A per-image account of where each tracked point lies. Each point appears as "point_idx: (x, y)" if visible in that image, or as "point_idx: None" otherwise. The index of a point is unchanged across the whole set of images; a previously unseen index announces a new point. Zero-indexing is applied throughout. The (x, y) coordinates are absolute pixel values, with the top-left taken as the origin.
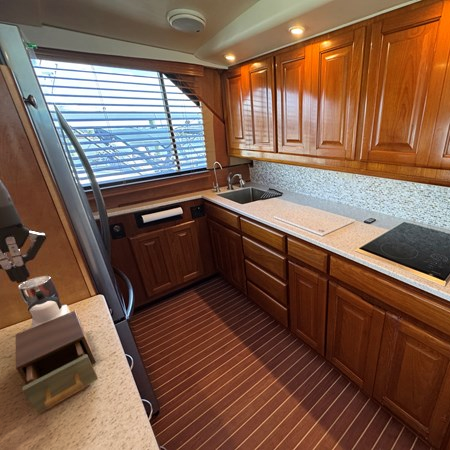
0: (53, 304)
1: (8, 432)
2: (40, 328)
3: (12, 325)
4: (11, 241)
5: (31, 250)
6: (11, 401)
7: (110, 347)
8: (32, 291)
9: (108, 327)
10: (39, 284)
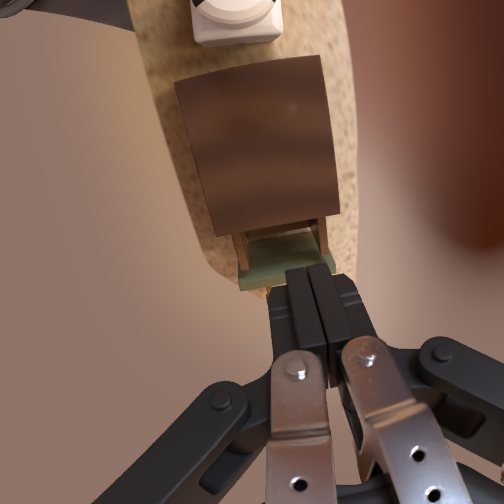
0: (267, 11)
1: (205, 250)
2: (234, 93)
3: None
4: None
5: (457, 438)
6: (188, 187)
7: (346, 151)
8: None
9: (348, 67)
10: None
